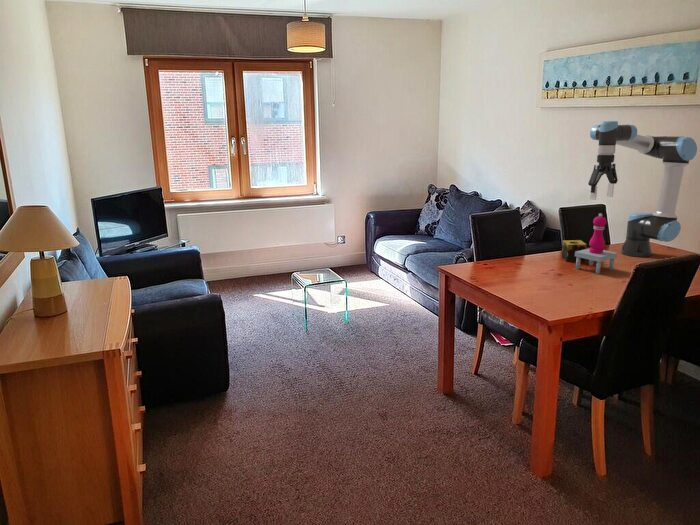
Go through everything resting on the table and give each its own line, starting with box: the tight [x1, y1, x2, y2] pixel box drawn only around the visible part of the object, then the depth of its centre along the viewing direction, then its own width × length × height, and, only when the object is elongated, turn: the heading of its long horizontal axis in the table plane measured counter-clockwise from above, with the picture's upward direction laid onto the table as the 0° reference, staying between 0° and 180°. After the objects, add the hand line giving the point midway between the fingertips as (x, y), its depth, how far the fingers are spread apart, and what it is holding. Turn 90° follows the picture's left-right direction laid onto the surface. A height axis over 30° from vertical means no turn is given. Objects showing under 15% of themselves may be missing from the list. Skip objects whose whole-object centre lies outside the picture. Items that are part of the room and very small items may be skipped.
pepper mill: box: [588, 212, 607, 254], centre depth 259 cm, size 7×7×20 cm
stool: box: [575, 247, 618, 275], centre depth 263 cm, size 14×14×9 cm
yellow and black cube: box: [561, 239, 587, 263], centre depth 282 cm, size 10×10×10 cm
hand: (601, 198), depth 255 cm, fingers open, 13 cm apart
